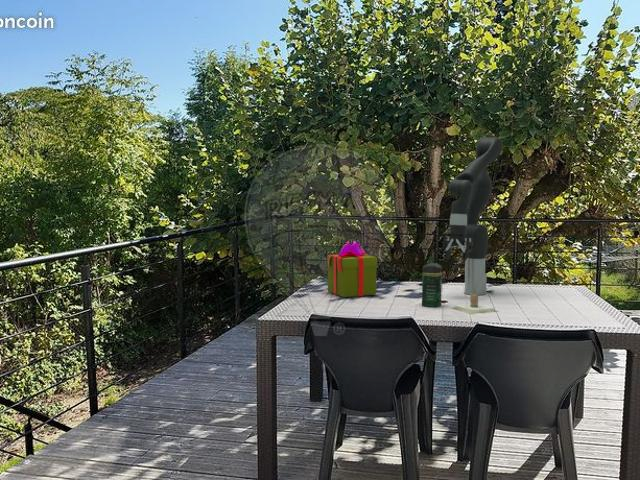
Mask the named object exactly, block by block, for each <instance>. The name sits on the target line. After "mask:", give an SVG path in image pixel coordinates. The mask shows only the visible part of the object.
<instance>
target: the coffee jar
mask: <svg viewBox="0 0 640 480" xmlns="http://www.w3.org/2000/svg"><path fill="white" fill-rule="evenodd" d="M442 278H443V266H442V265H440V264H439V263H437V262H436V263H435V262H430V263H428V264H425V265H423V266H422V279H421V280H422V281H421V282H422V283H421V284H422V292H421V306H422V307H424V308H435V309H437V308H439V307H441V306H442V290H443V289H442V284H443V281H442V280H443V279H442Z"/></svg>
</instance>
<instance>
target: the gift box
mask: <svg viewBox="0 0 640 480" xmlns="http://www.w3.org/2000/svg"><path fill="white" fill-rule="evenodd" d="M326 256H327V257H326V265H327V292H329V293H332V294H333V295H335V296H341V297H344V298H348V297H363V296H371V295H377V267H378V256H373V255H370V254H368V253H366V251H365V250H364V249H363V247H362V245H360V242H357V243H356V241H353V243H350V242H349V241H347V242H346V244H344V245H343V246H342V248H341V249H340V251H339V253H338V254H327V255H326Z"/></svg>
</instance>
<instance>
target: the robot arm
mask: <svg viewBox="0 0 640 480" xmlns="http://www.w3.org/2000/svg"><path fill="white" fill-rule="evenodd" d="M503 145H504V144H503V141H502V139H501V138H499V137H495V136H492V137H491V136H490V137H487V136H486V137H480V138H479V139H478V140H477V144H476V148H475V159H474V160H472V161H471V162H469V163H468V165H467V166H466V167H464V169H463V170H462V172H461V173H459V174H458V175H456V176H455V177H454V178H452V180H451V181H450V182H449V184H448V192H449V194H450V195H451V196H460V197H459V198H458V200H453V201H452V203H451V207H450V208H451V210H450V216H449V217H450V218H449V232H448V233H449V236H448V235H444V236H443V239H442V240H443V241H442V250H445V258H446V260H451V258H452V251H451V250H452V249H453V248H454V247H458V248H460V249H461V251H462V255H461V260H462V261H463V262H465V263H464V266H465V267H464V294H466V295H469V296H471V294H478V296H481V295H482V296H483V295H485V294H487V280H488V279H487V273H486V255H487V253H488V244H489V231H488V230H489V229H488V227H487V226H486V225H484V224H478V222H479V217H480V215H481V213H482V211H483V210H484V208H485V207H486V206H487V204H488V202H489V201H490V197H491V195H492V187H493V186H492V185H493V184H492V179H491V178H490V176H489V174H488V171H487V169H486V168H487V167H488V166H489V165H490V164H491V163H493V161H495V160H496V159H497V158H498V157H499V156H500V155H501V153H502V152H503V147H504V146H503Z"/></svg>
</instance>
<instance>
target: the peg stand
mask: <svg viewBox="0 0 640 480" xmlns="http://www.w3.org/2000/svg"><path fill="white" fill-rule="evenodd" d="M454 307H455V309H459V310H462V311H466V312H469V313H480V312H489V311H494V310H495V308H494V307H491V306H487V305H485V304H480V303H479V295H478V294H471V295H470V302H469V303H467V304H466V303H465V304H464V303H463V304H455V305H454Z"/></svg>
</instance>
